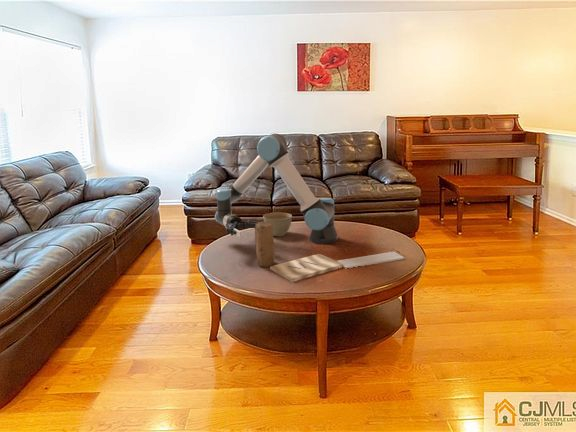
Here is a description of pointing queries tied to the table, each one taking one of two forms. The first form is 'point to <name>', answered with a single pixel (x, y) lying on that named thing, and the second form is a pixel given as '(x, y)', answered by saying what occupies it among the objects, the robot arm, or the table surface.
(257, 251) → the block
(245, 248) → the table surface
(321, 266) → the board
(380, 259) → the baseboard
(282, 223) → the planter bowl
